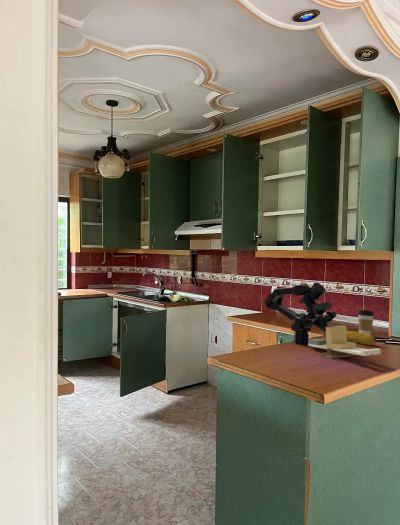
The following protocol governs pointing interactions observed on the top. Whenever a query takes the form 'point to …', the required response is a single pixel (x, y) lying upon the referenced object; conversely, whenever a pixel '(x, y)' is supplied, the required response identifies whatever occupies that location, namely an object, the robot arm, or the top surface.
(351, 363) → the top surface
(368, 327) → the coffee cup
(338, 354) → the beam stand
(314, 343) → the white twin rails
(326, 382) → the top surface
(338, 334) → the block
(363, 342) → the food
